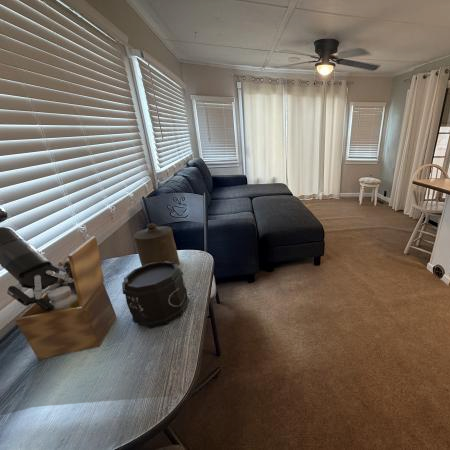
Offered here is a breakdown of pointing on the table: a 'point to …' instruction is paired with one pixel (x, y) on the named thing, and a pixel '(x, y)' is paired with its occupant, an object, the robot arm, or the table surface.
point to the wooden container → (156, 245)
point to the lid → (86, 270)
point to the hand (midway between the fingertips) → (66, 301)
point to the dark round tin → (155, 294)
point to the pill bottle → (63, 298)
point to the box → (67, 326)
